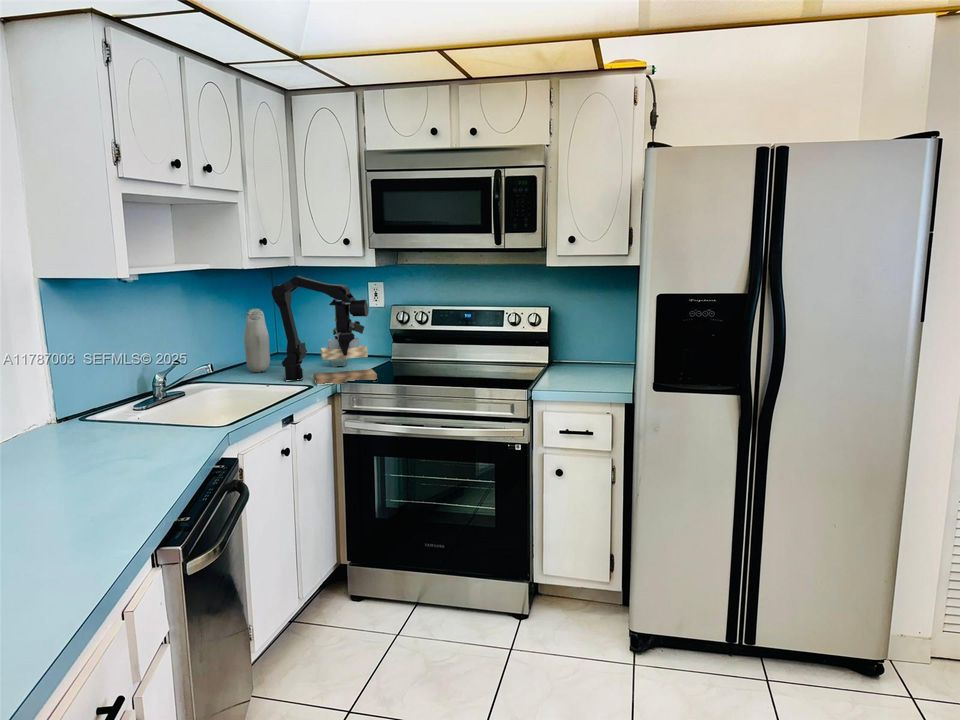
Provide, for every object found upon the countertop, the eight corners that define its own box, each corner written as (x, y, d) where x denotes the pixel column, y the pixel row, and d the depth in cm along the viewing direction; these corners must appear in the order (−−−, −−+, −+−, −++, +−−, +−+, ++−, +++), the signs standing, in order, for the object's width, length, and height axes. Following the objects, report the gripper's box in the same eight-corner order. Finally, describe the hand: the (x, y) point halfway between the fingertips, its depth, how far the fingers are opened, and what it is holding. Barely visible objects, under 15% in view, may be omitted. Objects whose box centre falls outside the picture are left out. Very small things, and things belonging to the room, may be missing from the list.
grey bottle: (243, 371, 306) (239, 308, 301) (266, 368, 312) (262, 306, 307) (251, 375, 298) (246, 310, 293) (274, 372, 304) (270, 308, 299)
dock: (317, 385, 275) (316, 378, 274) (314, 380, 285) (313, 373, 285) (377, 381, 282) (376, 373, 282) (372, 376, 293) (372, 369, 292)
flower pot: (327, 368, 312) (326, 348, 310) (332, 364, 321) (331, 345, 319) (346, 368, 312) (345, 348, 310) (350, 364, 320) (349, 345, 319)
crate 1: (329, 349, 278) (328, 340, 277) (328, 347, 281) (327, 339, 281) (339, 348, 279) (339, 340, 278) (338, 347, 283) (337, 338, 282)
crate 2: (349, 348, 280) (349, 339, 280) (348, 346, 284) (347, 338, 283) (359, 347, 282) (359, 338, 281) (357, 346, 285) (357, 337, 285)
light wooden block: (322, 359, 277) (322, 350, 276) (321, 357, 282) (320, 348, 281) (367, 356, 283) (367, 347, 282) (365, 354, 288) (364, 345, 287)
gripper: (366, 318, 273) (368, 356, 276) (358, 313, 290) (360, 349, 293) (338, 319, 270) (339, 358, 272) (331, 314, 287) (333, 351, 290)
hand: (344, 354), depth 282 cm, fingers closed on light wooden block, 5 cm apart
